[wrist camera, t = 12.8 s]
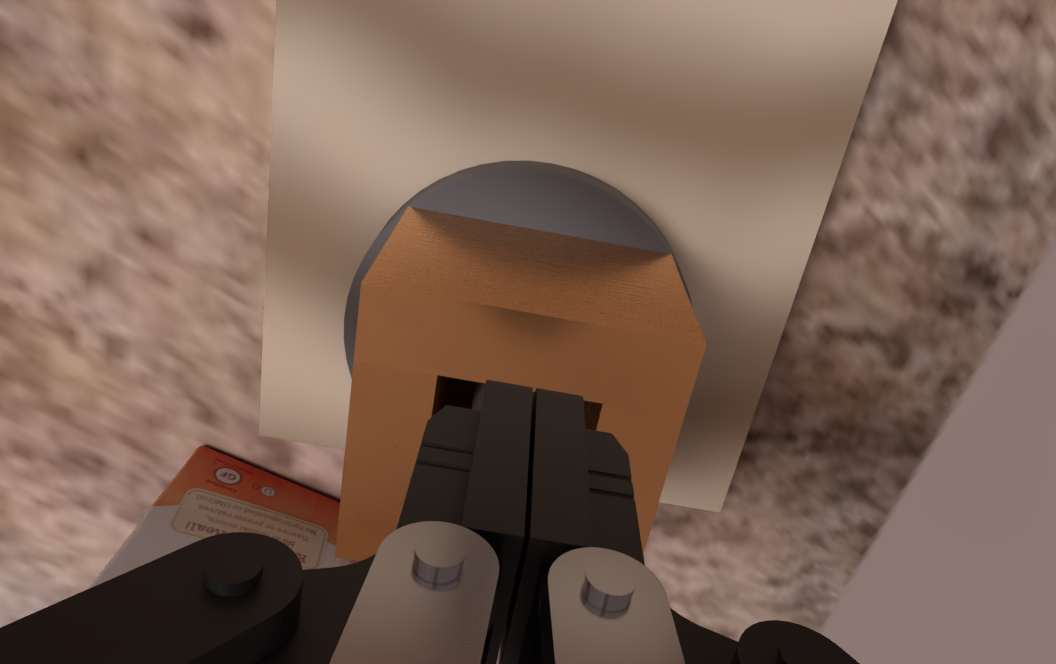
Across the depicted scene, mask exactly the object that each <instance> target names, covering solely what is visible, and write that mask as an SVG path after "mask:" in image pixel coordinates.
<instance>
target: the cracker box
mask: <svg viewBox="0 0 1056 664" xmlns="http://www.w3.org/2000/svg"><path fill="white" fill-rule="evenodd" d="M339 509H340V502H337V501H335V500H333V499H330V498H328V497H326V496H323V495H321V494H319V493H316V492H314V491H311V490H309V489H306V488H304V487H301V486H299V485H296V484H294V483H292V482H289V481H287V480H285V479H282V478H280V477H277V476H275V475H272V474H270V473H268V472H266V471H263V470H261V469H258V468H256V467H253V466H251V465H248V464H246V463H244V462H241V461H238V460H236V459H234V458H232V457H230V456H228V455H225V454H222V453H219V452H217V451H215V450H213V449H210V448H208V447H205V446H200V447H199V448H197V449H196V451H195V452H194V454H193V455H192V456H191V458H190V459H189V460H188V461H187V463H186V464H185V465H184V466H183V468H182V469H181V470H180V472H179V473H178V474H177V475H176V477H175V478H174V479H173V481H172V482H171V483H170V484H169V485H168V486H167V488H166V489H165V490H164V491H163V492H162V494H161V495H160V496H159V497H158V499H157V500H156V501H155V503H154V504H153V505H152V507H151V508H150V509H149V511H148V512H147V513H146V515H145V516H144V517H143V519H142V520H141V521H140V523H139V524H138V525H137V527H136V528H135V529H134V531H133V532H132V533H131V535H130V536H129V537H128V539H127V540H126V541H125V543H124V544H123V545H122V546H121V548H120V549H119V550H118V552H117V553H116V554H115V555H114V557H113V558H112V559H111V561H110V562H109V563H108V564H107V566H106V567H105V568H104V570H103V571H102V572H101V573H100V575H99V576H98V577H97V579H96V580H95V581H94V583H93V584H92V585H91V587H90V588H92V587H94V586H96V585H99V584H101V583H103V582H106V581H108V580H110V579H112V578H115V577H117V576H119V575H121V574H124V573H126V572H128V571H131V570H133V569H135V568H137V567H140V566H142V565H144V564H146V563H149V562H151V561H153V560H155V559H158V558H160V557H162V556H165V555H167V554H169V553H171V552H174V551H176V550H178V549H180V548H183V547H185V546H187V545H189V544H192V543H194V542H196V541H199V540H201V539H204V538H207V537H210V536H214V535H218V534H224V533H231V532H248V533H257V534H262V535H266V536H269V537H272V538H275V539H277V540H279V541H281V542H283V543H284V544H286V545H287V546H288V547H290V548H291V549H292V550H293V551H294V552H295V554H296V555H297V556H298V558H299V560H300V562H301V565H302V569H303V570H306V569H319V568H331V567H339V566H345V565H349V564H353V563H357V562H359V561H355V560H349V559H342V558H336V557H335V551H336V541H337V530H338V520H339ZM90 588H89V589H90ZM499 656H500V649H499V653H498V658H497V663H496V664H499Z"/></svg>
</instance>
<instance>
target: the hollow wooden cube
mask: <svg viewBox="0 0 1056 664" xmlns="http://www.w3.org/2000/svg"><path fill="white" fill-rule="evenodd" d="M706 345H707V344H706V341H705V339H704V336H703V333H702V331H701V328H700V326H699V323H698V321H697V318H696V316H695V313H694V310H693V308H692V305H691V303H690V300H689V298H688V295H687V293H686V290H685V288H684V285H683V282H682V280H681V277H680V275H679V272H678V270H677V267H676V265H675V262H674V260H673V257H672V254H667V253H662V252H656V251H651V250H645V249H640V248H634V247H629V246H623V245H618V244H612V243H607V242H601V241H596V240H590V239H585V238H579V237H574V236H568V235H563V234H557V233H552V232H546V231H541V230H535V229H530V228H524V227H518V226H513V225H507V224H502V223H496V222H491V221H485V220H480V219H474V218H469V217H463V216H458V215H452V214H447V213H441V212H436V211H430V210H425V209H419V208H414V207H408V208H407V209H406V211H405V212H404V214H403V216H402V217H401V219H400V221H399V222H398V224H397V225H396V227H395V229H394V230H393V232H392V234H391V235H390V237H389V238H388V240H387V242H386V243H385V245H384V246H383V248H382V250H381V251H380V253H379V255H378V256H377V258H376V259H375V261H374V263H373V264H372V266H371V268H370V269H369V271H368V272H367V274H366V276H365V277H364V279H363V281H362V282H361V288H360V298H359V309H358V320H357V330H356V341H355V351H354V362H353V372H352V383H351V393H350V404H349V414H348V425H347V435H346V446H345V456H344V467H343V477H342V488H341V498H340V509H339V520H338V530H337V541H336V551H335V557H336V558H342V559H349V560H355V561H362V560H365V559H367V558H369V557H371V556H373V555H375V554H376V553H377V551H378V549H379V547H380V545H381V543H382V542H383V540H384V539H385V538H386V537H387V536H388V535H389V534H391V533H392V532H393V531H395V530H396V529H397V525H398V522H399V518H400V515H401V511H402V508H403V504H404V501H405V497H406V494H407V490H408V487H409V483H410V480H411V476H412V473H413V469H414V466H415V463H416V459H417V455H418V452H419V448H420V446H421V441H422V438H423V434H424V431H425V427H426V424H427V421H428V420H429V419H430V418H431V417H433V416H434V415H435V414H436V413H437V412H439V411H440V410H441V409H442V408H443V407H445V406H446V405H449V406H455V407H461V408H466V409H471V407H472V402H473V397H474V396H469V395H463V394H458V393H452V392H448V388H449V382H450V377H451V378H457V379H463V380H468V381H474V382H480V383H486V379H487V380H493V381H499V382H504V383H510V384H516V385H522V386H527V387H532V388H533V392H535V390H536V388H540V389H546V390H551V391H557V392H563V393H569V394H575V395H580V396H583V399H584V415H585V429H590V430H596V431H601V432H607V433H612V434H613V435H614V437H615V438H616V439H617V440H618V442H619V443H620V444H621V446H622V447H623V448H624V450H625V451H626V452H627V454H628V455H629V462H630V469H631V476H632V478H631V481H632V483H633V489H634V500H635V503H636V510H637V516H638V523H639V530H640V537H641V544H642V550H643V552H644V549H645V546H646V542H647V539H648V536H649V532H650V529H651V526H652V523H653V519H654V516H655V513H656V509H657V506H658V503H659V499H660V496H661V493H662V490H663V486H664V483H665V480H666V476H667V473H668V470H669V467H670V463H671V460H672V457H673V453H674V450H675V447H676V443H677V440H678V437H679V434H680V430H681V427H682V424H683V420H684V417H685V414H686V411H687V407H688V404H689V401H690V397H691V394H692V391H693V387H694V384H695V381H696V378H697V374H698V371H699V368H700V364H701V361H702V358H703V355H704V351H705V348H706Z"/></svg>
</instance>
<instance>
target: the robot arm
mask: <svg viewBox="0 0 1056 664" xmlns="http://www.w3.org/2000/svg"><path fill="white" fill-rule="evenodd" d="M532 394H533V388H532V387H527V386H522V385H516V384H510V383H504V382H499V381H493V380H487V379H486V384H485V390H484V395H483V401H482V407H481V411H478V410H472V409H466V408H461V407H455V406H449V405H446V406H445V407H443V408H442V409H441V410H440V411H439V412H437V413H436V414H435V415H434V416H433V417H431V418H430V419H429V420H428V421H427V424H426V427H425V431H424V434H423V438H422V441H421V446H420V448H419V452H418V455H417V459H416V463H415V466H414V469H413V473H412V476H411V480H410V483H409V487H408V490H407V494H406V497H405V501H404V504H403V508H402V511H401V515H400V518H399V522H398V525H397V529H396V530H395V531H393V532H392V533H391V534H389V535H388V536H387V537H386V538H385V539H384V540H383V542H382V543H381V545H380V547H379V549H378V551H377V553H376V554H375V555H373V556H371V557H369V558H367V559H365V560H362V561H359V562H357V563H353V564H349V565H345V566H339V567H331V568H319V569H306V570H303V569H302V565H301V562H300V560H299V558H298V556H297V555H296V554H295V552H294V551H293V550H292V549H291V548H290V547H288V546H287V545H286V544H284V543H283V542H281V541H279V540H277V539H275V538H272V537H269V536H266V535H262V534H257V533H248V532H231V533H224V534H218V535H214V536H210V537H207V538H204V539H201V540H199V541H196V542H194V543H192V544H189V545H187V546H185V547H183V548H180V549H178V550H176V551H174V552H171V553H169V554H167V555H165V556H162V557H160V558H158V559H155V560H153V561H151V562H149V563H146V564H144V565H142V566H140V567H137V568H135V569H133V570H131V571H128V572H126V573H124V574H121V575H119V576H117V577H115V578H112V579H110V580H108V581H106V582H103V583H101V584H99V585H96V586H94V587H92V588H90V589H87V590H85V591H83V592H81V593H78V594H76V595H74V596H72V597H69V598H67V599H65V600H62V601H60V602H58V603H56V604H53V605H51V606H49V607H47V608H44V609H42V610H40V611H38V612H35V613H33V614H31V615H28V616H26V617H24V618H22V619H19V620H17V621H15V622H13V623H10V624H8V625H6V626H3V627H1V628H0V664H496V663H497V658H498V653H499V649H500V656H499V664H859V663H858V662H857V661H856V660H855V659H853V658H852V657H851V656H850V655H849V654H847V653H846V652H845V651H844V650H843V649H841V648H840V647H839V646H838V645H836V644H835V643H834V642H832V641H831V640H830V639H828V638H826V637H825V636H823V635H821V634H820V633H818V632H816V631H814V630H812V629H809V628H807V627H804V626H801V625H799V624H795V623H791V622H786V621H778V620H772V621H763V622H759V623H756V624H754V625H752V626H750V627H749V628H747V629H746V630H745V631H744V633H743V634H742V635H741V637H740V640H739V642H737V641H735V640H732V639H730V638H727V637H725V636H723V635H720V634H718V633H715V632H713V631H711V630H708V629H706V628H703V627H701V626H699V625H697V624H695V623H693V622H691V621H689V620H687V619H686V618H684V617H682V616H681V615H679V614H678V613H677V612H675V611H674V610H673V609H671V608H670V606H669V602H668V599H667V595H666V592H665V590H664V587H663V586H662V584H661V582H660V581H659V579H658V578H657V577H656V576H655V575H654V573H653V572H651V571H650V570H649V569H648V568H647V567H646V566H645V564H644V557H643V550H642V544H641V537H640V530H639V523H638V516H637V510H636V503H635V500H634V489H633V483H632V481H631V478H632V476H631V469H630V462H629V455H628V454H627V452H626V451H625V450H624V448H623V447H622V446H621V444H620V443H619V442H618V440H617V439H616V438H615V437H614V435H613V434H612V433H607V432H601V431H596V430H590V429H585V415H584V399H583V396H580V395H575V394H569V393H563V392H557V391H551V390H546V389H540V388H536V390H535V393H534V397H533V401H532Z"/></svg>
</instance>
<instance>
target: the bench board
mask: <svg viewBox="0 0 1056 664" xmlns="http://www.w3.org/2000/svg"><path fill="white" fill-rule="evenodd" d="M897 1H898V0H277V2H276V27H275V52H274V76H273V101H272V125H271V150H270V175H269V199H268V224H267V249H266V273H265V298H264V323H263V347H262V372H261V397H260V421H259V435H261V436H267V437H273V438H279V439H285V440H291V441H297V442H303V443H309V444H315V445H321V446H327V447H333V448H339V449H345V446H346V435H347V425H348V414H349V404H350V393H351V383H352V372H353V362H354V351H355V341H356V330H357V320H358V309H359V298H360V288H361V282H362V281H363V279H364V277H365V276H366V274H367V272H368V271H369V269H370V268H371V266H372V264H373V263H374V261H375V259H376V258H377V256H378V255H379V253H380V251H381V250H382V248H383V246H384V245H385V243H386V242H387V240H388V238H389V237H390V235H391V234H392V232H393V230H394V229H395V227H396V225H397V224H398V222H399V221H400V219H401V217H402V216H403V214H404V212H405V211H406V209H407V208H408V207H414V208H419V209H425V210H430V211H436V212H441V213H447V214H452V215H458V216H463V217H469V218H474V219H480V220H485V221H491V222H496V223H502V224H507V225H513V226H518V227H524V228H530V229H535V230H541V231H546V232H552V233H557V234H563V235H568V236H574V237H579V238H585V239H590V240H596V241H601V242H607V243H612V244H618V245H623V246H629V247H634V248H640V249H645V250H651V251H656V252H662V253H667V254H672V257H673V260H674V262H675V265H676V267H677V270H678V272H679V275H680V277H681V280H682V282H683V285H684V288H685V290H686V293H687V295H688V298H689V300H690V303H691V305H692V308H693V310H694V313H695V316H696V318H697V321H698V323H699V326H700V328H701V331H702V333H703V336H704V339H705V341H706V344H707V345H706V348H705V351H704V355H703V358H702V361H701V364H700V368H699V371H698V374H697V378H696V381H695V384H694V387H693V391H692V394H691V397H690V401H689V404H688V407H687V411H686V414H685V417H684V420H683V424H682V427H681V430H680V434H679V437H678V440H677V443H676V447H675V450H674V453H673V457H672V460H671V463H670V467H669V470H668V473H667V476H666V480H665V483H664V486H663V490H662V493H661V496H660V499H659V502H660V503H666V504H672V505H678V506H684V507H690V508H696V509H702V510H708V511H714V512H721V509H722V506H723V503H724V500H725V497H726V494H727V491H728V489H729V486H730V483H731V480H732V477H733V474H734V471H735V468H736V465H737V463H738V460H739V457H740V454H741V451H742V448H743V445H744V442H745V440H746V437H747V434H748V431H749V428H750V425H751V422H752V419H753V416H754V414H755V411H756V408H757V405H758V402H759V399H760V396H761V393H762V390H763V388H764V385H765V382H766V379H767V376H768V373H769V370H770V367H771V365H772V362H773V359H774V356H775V353H776V350H777V347H778V344H779V341H780V339H781V336H782V333H783V330H784V327H785V324H786V321H787V318H788V316H789V313H790V310H791V307H792V304H793V301H794V298H795V295H796V292H797V290H798V287H799V284H800V281H801V278H802V275H803V272H804V269H805V266H806V264H807V261H808V258H809V255H810V252H811V249H812V246H813V243H814V241H815V238H816V235H817V232H818V229H819V226H820V223H821V220H822V217H823V215H824V212H825V209H826V206H827V203H828V200H829V197H830V194H831V192H832V189H833V186H834V183H835V180H836V177H837V174H838V171H839V168H840V166H841V163H842V160H843V157H844V154H845V151H846V148H847V145H848V142H849V140H850V137H851V134H852V131H853V128H854V125H855V122H856V119H857V117H858V114H859V111H860V108H861V105H862V102H863V99H864V96H865V93H866V91H867V88H868V85H869V82H870V79H871V76H872V73H873V70H874V67H875V65H876V62H877V59H878V56H879V53H880V50H881V47H882V44H883V42H884V39H885V36H886V33H887V30H888V27H889V24H890V21H891V18H892V16H893V13H894V10H895V7H896V4H897ZM485 384H486V383H480V382H474V381H468V380H463V379H457V378H451V377H450V382H449V388H448V392H452V393H458V394H463V395H469V396H474V397H473V402H472V407H471V409H472V410H478V411H481V407H482V401H483V395H484V390H485ZM534 393H535V392H533V394H532V401H533V397H534Z"/></svg>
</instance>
